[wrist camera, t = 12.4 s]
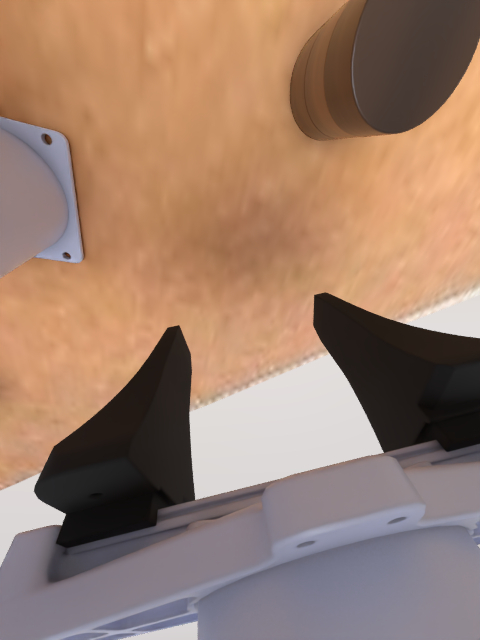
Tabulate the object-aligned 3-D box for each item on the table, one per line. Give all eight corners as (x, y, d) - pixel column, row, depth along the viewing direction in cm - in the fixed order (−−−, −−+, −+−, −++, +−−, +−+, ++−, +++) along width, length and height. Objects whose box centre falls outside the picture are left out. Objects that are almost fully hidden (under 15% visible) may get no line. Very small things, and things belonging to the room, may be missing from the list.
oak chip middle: (309, 151, 14) (327, 151, 13) (297, 24, 11) (319, -2, 9) (392, 121, 14) (423, 116, 12) (403, -17, 11) (446, -53, 9)
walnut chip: (306, 119, 12) (328, 112, 10) (358, -58, 9) (405, -117, 7) (390, 149, 13) (425, 148, 11) (459, 4, 10) (521, -31, 8)
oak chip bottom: (278, 127, 15) (290, 123, 14) (308, 6, 13) (329, -20, 11) (345, 149, 17) (365, 149, 15) (386, 44, 14) (417, 27, 12)
